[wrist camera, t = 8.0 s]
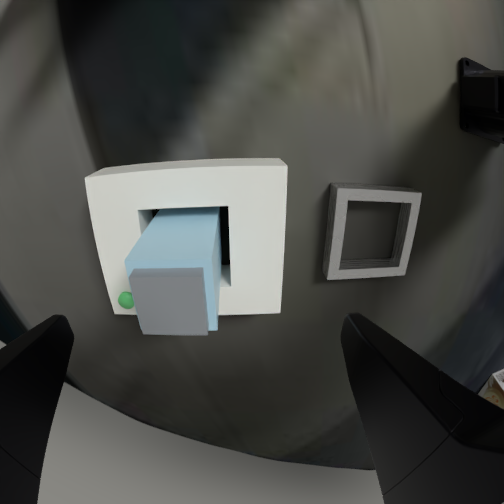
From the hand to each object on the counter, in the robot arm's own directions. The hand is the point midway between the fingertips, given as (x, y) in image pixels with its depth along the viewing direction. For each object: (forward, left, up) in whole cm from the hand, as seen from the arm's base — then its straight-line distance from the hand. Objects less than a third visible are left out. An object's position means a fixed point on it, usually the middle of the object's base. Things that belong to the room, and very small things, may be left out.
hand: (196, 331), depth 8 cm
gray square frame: (-11, +2, -13) cm, 17 cm away
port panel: (+2, +2, -13) cm, 13 cm away
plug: (+2, +2, -13) cm, 13 cm away
